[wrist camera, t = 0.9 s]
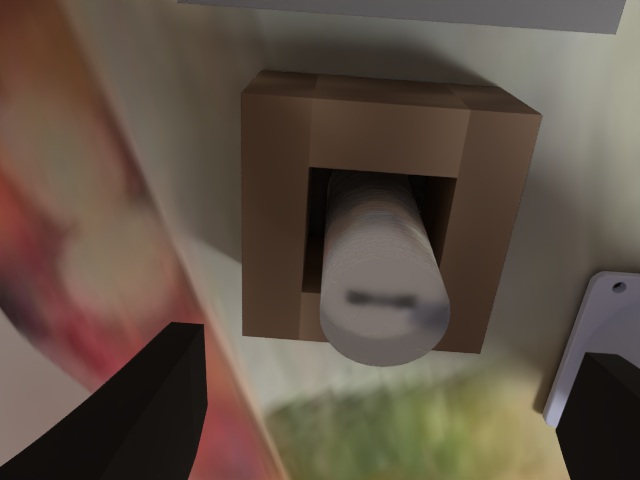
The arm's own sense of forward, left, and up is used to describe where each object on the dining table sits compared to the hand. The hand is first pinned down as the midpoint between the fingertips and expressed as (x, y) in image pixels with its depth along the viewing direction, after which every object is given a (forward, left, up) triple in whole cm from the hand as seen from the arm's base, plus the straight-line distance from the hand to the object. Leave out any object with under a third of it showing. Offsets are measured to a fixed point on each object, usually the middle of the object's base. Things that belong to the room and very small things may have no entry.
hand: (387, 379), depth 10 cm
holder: (0, 0, -10) cm, 10 cm away
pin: (0, 0, -10) cm, 10 cm away
